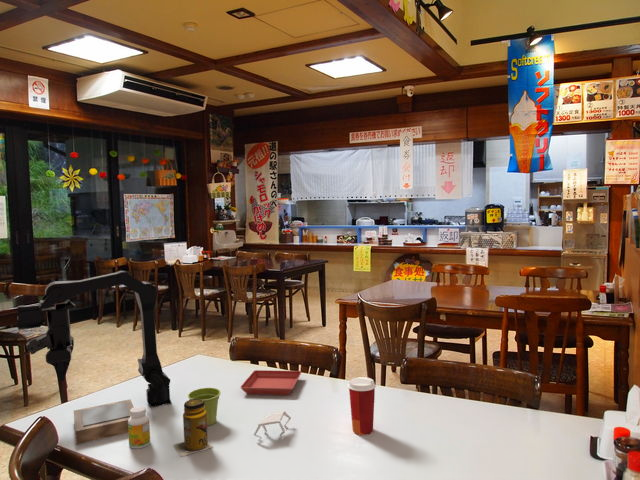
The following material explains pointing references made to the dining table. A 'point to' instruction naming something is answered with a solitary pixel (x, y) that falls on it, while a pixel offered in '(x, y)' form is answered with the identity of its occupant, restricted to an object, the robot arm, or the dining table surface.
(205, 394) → the plant pot
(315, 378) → the dining table surface
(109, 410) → the framed mirror
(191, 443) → the condiment
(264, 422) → the miniature table
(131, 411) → the supplement bottle
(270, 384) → the plant saucer
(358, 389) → the paper cup
